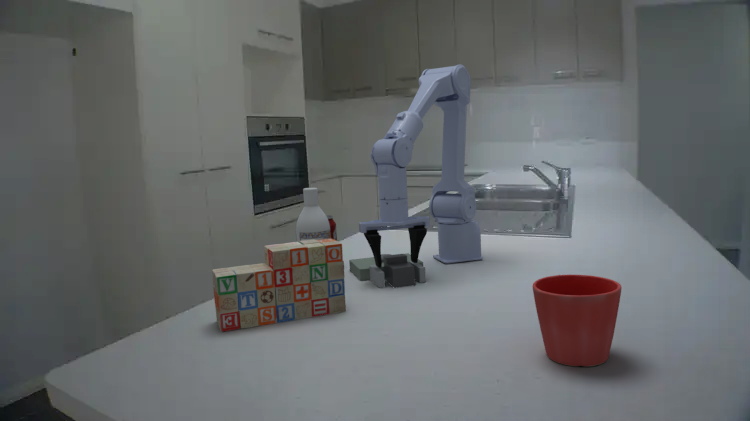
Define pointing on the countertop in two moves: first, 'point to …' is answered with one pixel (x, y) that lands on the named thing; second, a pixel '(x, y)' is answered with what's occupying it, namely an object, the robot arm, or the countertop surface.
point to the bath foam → (312, 219)
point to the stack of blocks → (282, 285)
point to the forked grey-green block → (381, 270)
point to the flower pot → (577, 317)
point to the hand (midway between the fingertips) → (396, 264)
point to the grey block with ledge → (398, 271)
